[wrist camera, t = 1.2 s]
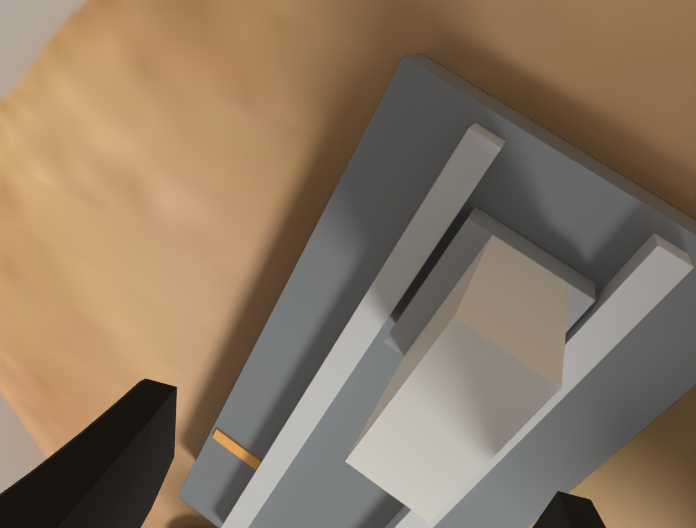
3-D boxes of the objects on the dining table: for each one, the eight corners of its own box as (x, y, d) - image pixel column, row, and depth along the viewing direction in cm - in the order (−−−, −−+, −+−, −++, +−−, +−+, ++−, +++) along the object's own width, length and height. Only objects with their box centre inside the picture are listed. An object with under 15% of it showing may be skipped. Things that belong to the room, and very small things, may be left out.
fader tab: (594, 282, 16) (598, 412, 10) (495, 393, 18) (457, 543, 13) (475, 206, 16) (420, 293, 11) (394, 324, 19) (317, 441, 13)
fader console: (774, 268, 16) (810, 314, 13) (393, 613, 27) (373, 674, 25) (421, 53, 17) (392, 57, 15) (202, 468, 29) (164, 511, 26)
